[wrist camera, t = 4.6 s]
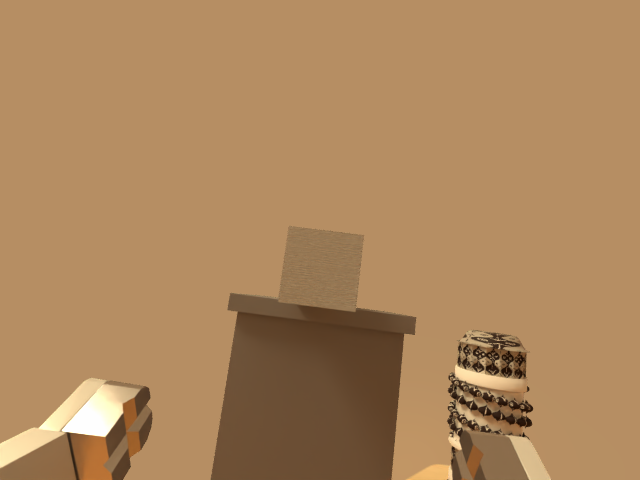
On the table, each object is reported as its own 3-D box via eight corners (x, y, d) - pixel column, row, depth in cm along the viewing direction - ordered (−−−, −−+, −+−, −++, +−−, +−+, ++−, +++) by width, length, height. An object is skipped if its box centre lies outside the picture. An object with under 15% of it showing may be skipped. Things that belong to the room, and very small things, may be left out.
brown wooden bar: (307, 301, 34) (313, 256, 34) (340, 305, 34) (345, 260, 34) (277, 302, 14) (292, 197, 15) (355, 312, 14) (367, 205, 15)
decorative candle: (436, 525, 47) (450, 326, 51) (517, 549, 44) (525, 336, 48) (437, 573, 38) (454, 328, 42) (538, 607, 35) (545, 341, 39)
